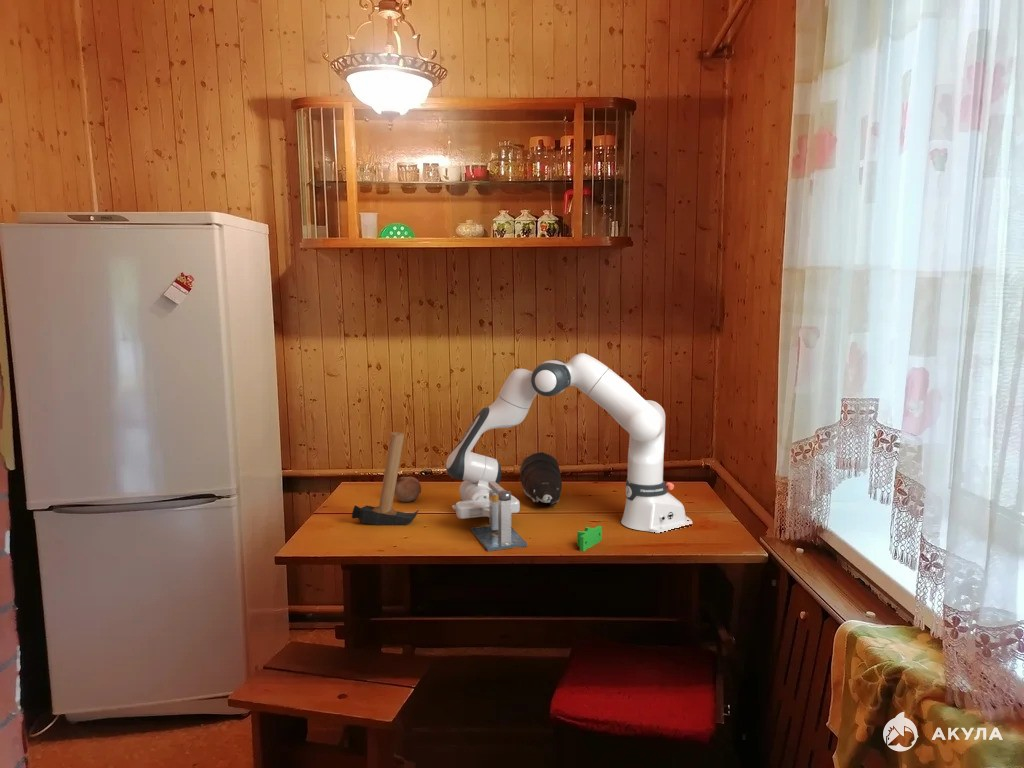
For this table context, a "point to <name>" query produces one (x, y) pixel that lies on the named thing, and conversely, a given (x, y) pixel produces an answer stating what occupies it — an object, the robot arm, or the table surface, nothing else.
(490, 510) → the post
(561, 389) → the robot arm
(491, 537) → the bolt hole plate
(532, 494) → the dark brown oval body
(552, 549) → the table surface
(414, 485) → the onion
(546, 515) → the table surface
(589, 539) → the pipe clamp
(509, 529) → the grey metal upright piece
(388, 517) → the hammer
